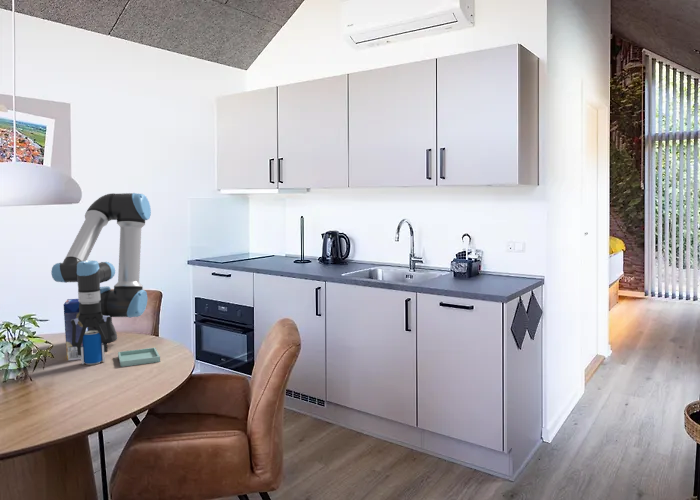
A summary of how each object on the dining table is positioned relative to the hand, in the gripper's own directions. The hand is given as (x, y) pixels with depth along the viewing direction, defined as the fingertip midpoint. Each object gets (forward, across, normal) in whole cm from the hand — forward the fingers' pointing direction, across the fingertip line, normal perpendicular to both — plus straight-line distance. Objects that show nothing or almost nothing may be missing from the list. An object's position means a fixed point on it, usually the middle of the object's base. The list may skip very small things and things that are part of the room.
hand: (93, 361), depth 213 cm
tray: (0, +16, -3) cm, 16 cm away
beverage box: (+1, -5, +13) cm, 14 cm away
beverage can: (+1, 0, 0) cm, 1 cm away
